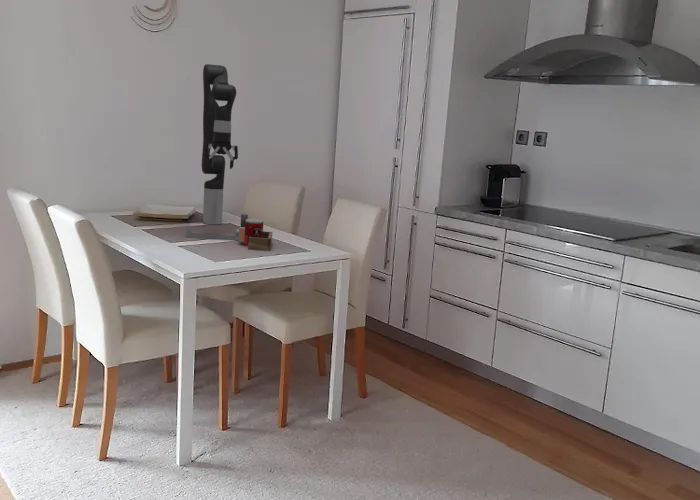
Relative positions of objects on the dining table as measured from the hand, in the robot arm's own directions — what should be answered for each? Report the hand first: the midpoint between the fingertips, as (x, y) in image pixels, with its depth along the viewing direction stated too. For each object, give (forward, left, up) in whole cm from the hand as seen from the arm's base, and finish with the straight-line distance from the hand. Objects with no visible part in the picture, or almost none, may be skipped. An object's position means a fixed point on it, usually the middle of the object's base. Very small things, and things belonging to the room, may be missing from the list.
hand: (221, 168), depth 295 cm
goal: (+19, +20, -30) cm, 41 cm away
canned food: (+18, +17, -30) cm, 39 cm away
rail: (+9, +2, -30) cm, 32 cm away
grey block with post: (+13, +12, -30) cm, 34 cm away
